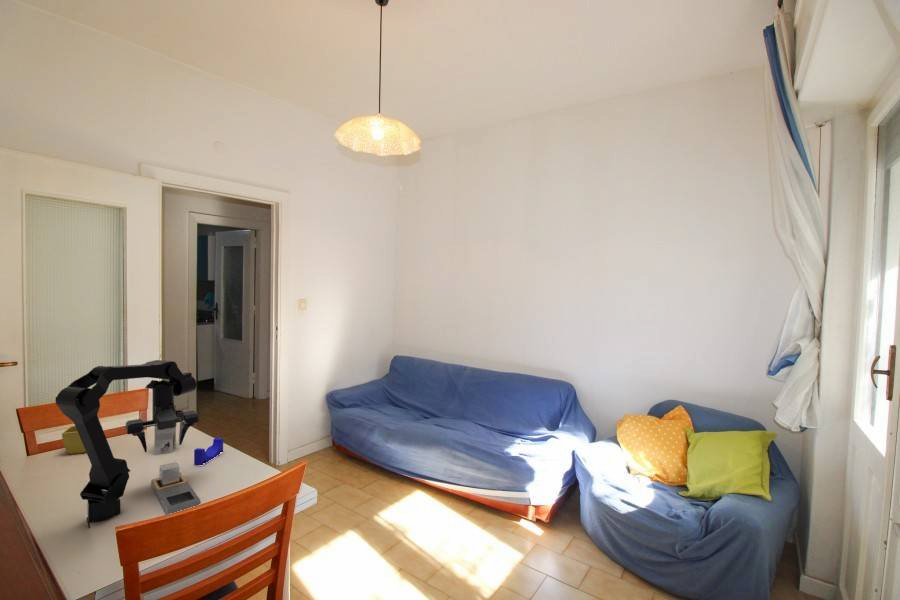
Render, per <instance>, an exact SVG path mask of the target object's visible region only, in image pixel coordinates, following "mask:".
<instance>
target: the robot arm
mask: <svg viewBox="0 0 900 600" xmlns="http://www.w3.org/2000/svg"><path fill="white" fill-rule="evenodd" d="M192 375H193V373H192V372H189V371H188V372H183V373H182V371H181V370H180V368H179V367H178V364H177V362H176V361H173V360H172V361H171V360H160V359H156V360H151V361H147V362H145V363H141V364H130V365H129V364H127V365H126V364H125V365H110V366H107V365H106V366H105V365H97V366H95V367H93V368H92V369H90V371H89V372H87V373H86V374H84V375H82V376H80V377H79V378H77V379H75V380H74V381H72V382H71V383H70V384H69V385H67V387H64V388H62V389H61V390H60V391H59V392H58V394H57V396H56V397H55V400H54V401H55V404H56V406H57V407H58V409H59V410H60V411H61V413H62V414H63V415H64V416H65V417H67V418H68V419H69V420H70V421H72V422H73V424H74V426H76V429H77V431H78V434H79V436H80V438H81V441H82V443H83V446H84V448H85V450H86V452H85V453H86V455H87V457H88V459H89V462H90V464H91V466H90V469H89V473H88V477H89V481H88V482H87V484H86V485H85V486H84V487H83V489H82V490H81V492H79V496H80V498H81V500H84V501H85V500H86V501H87V517H86V523H87V528H88V529H91V526H90V525H91V524H90V523H101V522H104V521H108V520H110V519H112V518H114V517H116V516H118V515H120V514H121V499H120V498H122V497H123V496H124V493H125V490H126V487H127V484H128V480H130V474H129V473H130V472H131V470H130V468H129V467H128V463H127V461H126V459H121V458H116V457H114V454H113V451H112V450H111V449H112V448H111V447H110V444H109V442H108V440H107V437H106V434H105V432H104V430H103V429H104V428H103V426H102V423H101V421H100V419H99V416H98V414H99V410H100V407H101V401H100V400H101V399H102V397H104V395H106V393H107V391H108V389H109V386H110V385H111V383H112V382H113V381H118V380H119V381H121V380H130V379H143V378H144V379H145V378H149V379H152V380H150V382H149V383H148V384H146V385H145V389H150V390H151V389H152V390H151V391H152V394H151V395H152V400H151V401H152V405H151V406H152V409H151V410H152V411H151V412H152V414H151V415H152V416H151V417H152V420H150V419H149V420H146V421H143V419H142V418H137V419H136V418H135V419H131V420H127V421H126V422H125V431H126V433H127V434H126V435H132V436H134V437H138V439H139V441H140V442H141V443H140V444H141V446H142V448H143V451H144V452H145V453H147V451H148V447H147V441H146V440H147V439H146V431H144V429H145V428H151V427H155V426H157V428H158V430H164V429H167V428H174V427H176V428H177V423H179V433H178V445H179V446H181V445H182V443H183V442H184V438H185V436H186V433H187V432H188V430H189V428H190V427H191V426H194V425H195V423H199V422H200V421H199V418H200V417H199V414H198V412H196V411H195V410H188V411H184V409H179V410H177V409H176V411H175V409H174V406H175V397H178V396H183V395H185V394H188V393H192V392H194V391H195V390H196V389H197V386H198V384H197V380H196V379H195V378H194V377H193V376H192ZM155 379H159V380H155ZM160 379H161V380H160ZM91 386H93V387H91ZM90 387H91V388H90Z"/></svg>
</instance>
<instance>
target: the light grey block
mask: <svg viewBox="0 0 900 600" xmlns="http://www.w3.org/2000/svg"><path fill="white" fill-rule="evenodd" d="M180 467H181V466H180V464H179V463H178V462H177V461H173V462H169V463H166V464H161V465H159V478H160V488H161V487H165V486H169V485H172V484H176V483H180V471H181V470H180Z"/></svg>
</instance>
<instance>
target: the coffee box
mask: <svg viewBox="0 0 900 600" xmlns="http://www.w3.org/2000/svg"><path fill="white" fill-rule="evenodd" d="M176 408H177V405H175V404H174V409H175V411H177V409H176ZM176 442H177V426H176V427H174V428H167V429H164V430H158V428H157V426H154V442H153V443H154V447H153V449H154V452H153V453H154V455H160V454H161V455H162V454H169V452H170V453H174V452H173V451H175V448H176V444H177V443H176Z"/></svg>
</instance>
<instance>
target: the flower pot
mask: <svg viewBox="0 0 900 600" xmlns="http://www.w3.org/2000/svg"><path fill="white" fill-rule="evenodd" d="M61 435H62V437H61V438H62V443H63V447H64V449H65V450H66V452H67V453H69V454H70V455H75V454H81V453H82V454H83V453H86V450H85V448H84V446H83V443H82V441H81V438H80V436H79V434H78V431H77V429H76V426H75V425H71V426H70V427H68V428H66V429H65V430H64V431H63V432H61Z"/></svg>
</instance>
